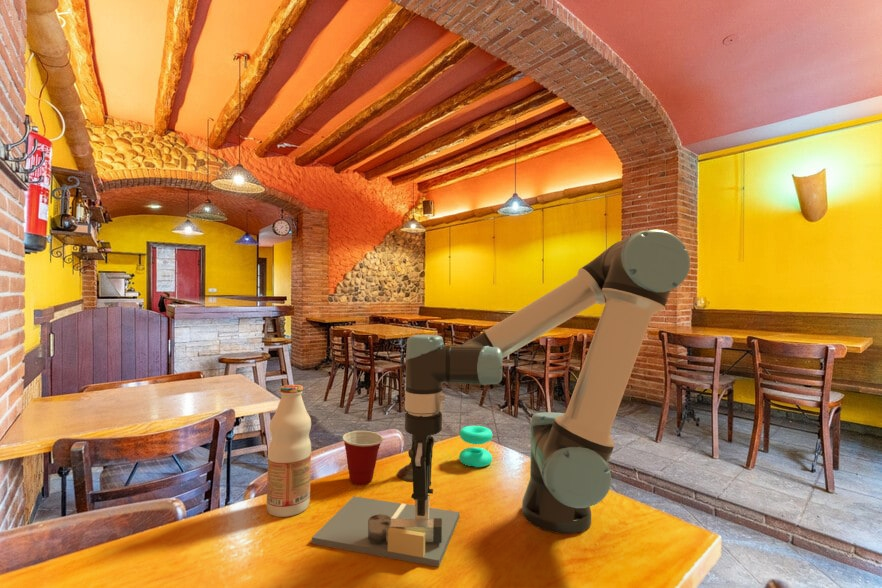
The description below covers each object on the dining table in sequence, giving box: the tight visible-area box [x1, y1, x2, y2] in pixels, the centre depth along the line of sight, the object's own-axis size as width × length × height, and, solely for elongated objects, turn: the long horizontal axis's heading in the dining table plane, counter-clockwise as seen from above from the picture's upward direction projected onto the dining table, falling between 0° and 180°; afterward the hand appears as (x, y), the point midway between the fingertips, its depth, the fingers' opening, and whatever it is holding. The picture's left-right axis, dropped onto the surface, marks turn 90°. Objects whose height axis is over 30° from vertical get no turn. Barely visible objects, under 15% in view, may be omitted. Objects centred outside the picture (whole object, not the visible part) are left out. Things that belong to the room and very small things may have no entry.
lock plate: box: [311, 496, 460, 568], centre depth 86 cm, size 26×18×5 cm
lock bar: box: [368, 514, 442, 543], centre depth 80 cm, size 14×4×3 cm, turn 89°
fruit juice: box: [266, 384, 312, 518], centre depth 95 cm, size 9×9×28 cm
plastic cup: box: [342, 430, 384, 486], centre depth 110 cm, size 11×11×12 cm
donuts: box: [458, 425, 493, 468], centre depth 124 cm, size 10×10×10 cm
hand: (421, 528), depth 83 cm, fingers closed
